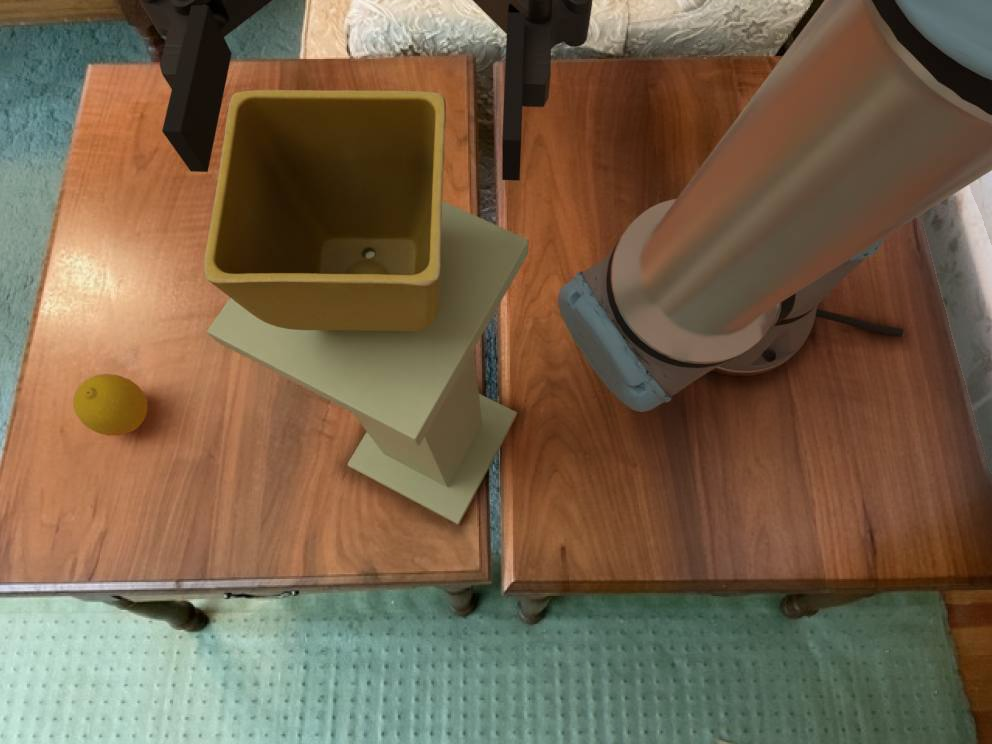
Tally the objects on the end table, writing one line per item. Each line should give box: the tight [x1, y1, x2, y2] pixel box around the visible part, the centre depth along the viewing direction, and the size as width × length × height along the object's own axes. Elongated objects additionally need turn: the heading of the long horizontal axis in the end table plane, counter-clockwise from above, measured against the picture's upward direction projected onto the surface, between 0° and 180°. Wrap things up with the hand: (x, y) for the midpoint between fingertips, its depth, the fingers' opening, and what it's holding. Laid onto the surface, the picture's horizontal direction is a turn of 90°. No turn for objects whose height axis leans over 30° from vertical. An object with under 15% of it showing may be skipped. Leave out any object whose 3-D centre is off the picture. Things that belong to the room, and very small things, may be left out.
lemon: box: [72, 373, 149, 437], centre depth 65 cm, size 6×6×8 cm
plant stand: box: [206, 200, 530, 526], centre depth 51 cm, size 12×12×34 cm
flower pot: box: [203, 89, 447, 331], centre depth 31 cm, size 9×9×9 cm
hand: (347, 157), depth 29 cm, fingers open, 13 cm apart
